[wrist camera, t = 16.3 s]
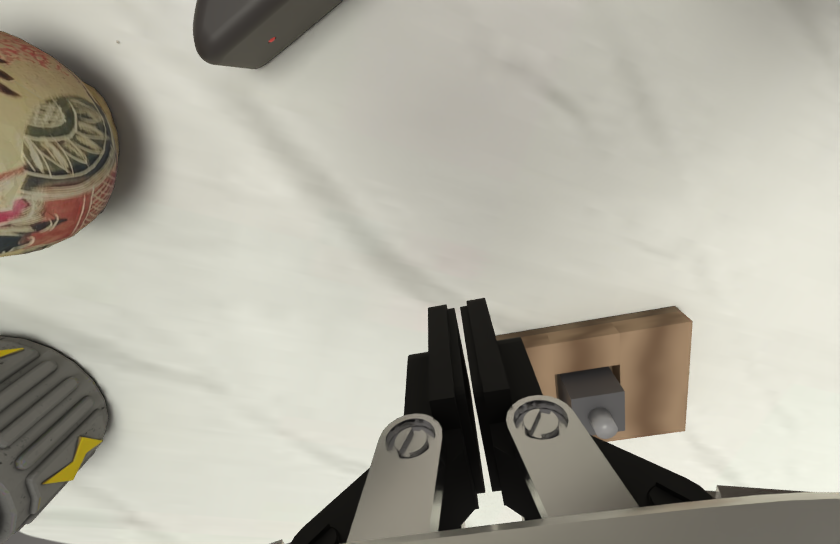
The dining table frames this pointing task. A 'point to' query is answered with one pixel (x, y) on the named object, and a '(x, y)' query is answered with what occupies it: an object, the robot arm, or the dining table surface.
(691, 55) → the dining table surface
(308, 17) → the rounded red-dot block
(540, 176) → the dining table surface
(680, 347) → the socket board
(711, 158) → the dining table surface
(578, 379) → the plug
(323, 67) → the dining table surface
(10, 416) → the decorative lamp
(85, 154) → the ceramic jug
